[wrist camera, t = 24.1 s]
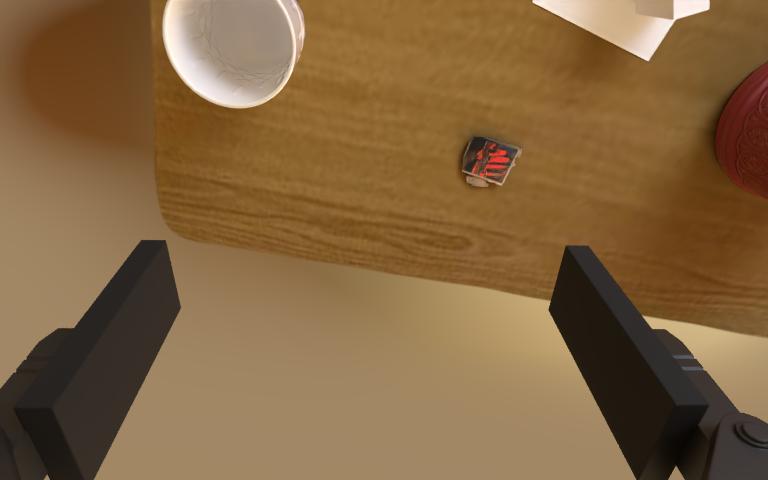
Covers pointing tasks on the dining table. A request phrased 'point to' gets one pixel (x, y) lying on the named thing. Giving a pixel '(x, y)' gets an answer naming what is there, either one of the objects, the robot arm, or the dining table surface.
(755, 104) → the kitchen canister
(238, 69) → the white cup
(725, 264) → the dining table surface
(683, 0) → the napkin holder
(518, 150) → the matchbox
